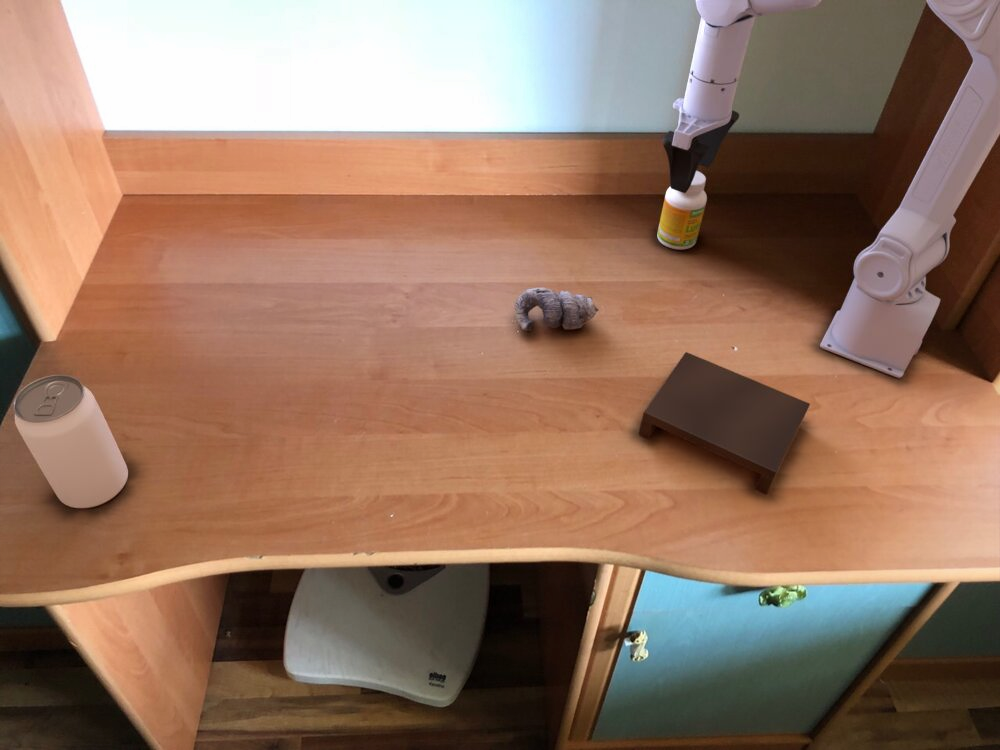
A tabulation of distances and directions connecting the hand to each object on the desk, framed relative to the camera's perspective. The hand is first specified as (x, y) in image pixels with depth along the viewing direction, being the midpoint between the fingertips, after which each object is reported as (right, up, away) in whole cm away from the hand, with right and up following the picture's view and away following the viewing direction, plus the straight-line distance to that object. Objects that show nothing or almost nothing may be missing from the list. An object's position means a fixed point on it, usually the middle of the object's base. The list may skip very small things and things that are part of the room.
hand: (690, 176), depth 102 cm
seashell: (-18, -20, -7) cm, 27 cm away
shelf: (-1, -31, -18) cm, 36 cm away
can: (-64, -36, -26) cm, 78 cm away
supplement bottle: (0, -7, +7) cm, 10 cm away
